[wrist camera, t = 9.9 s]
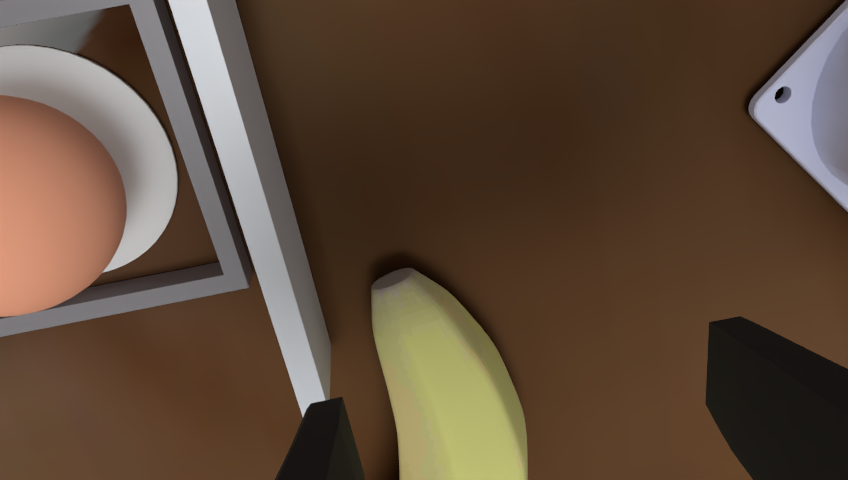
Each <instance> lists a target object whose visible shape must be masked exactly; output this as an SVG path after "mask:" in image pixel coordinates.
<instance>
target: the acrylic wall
mask: <svg viewBox="0 0 848 480" xmlns="http://www.w3.org/2000/svg"><path fill="white" fill-rule="evenodd" d="M168 1H169V4H170V7H171V10H172V13H173V16H174V19H175V22H176V26H177V29H178V32H179V35H180V38H181V41H182V44H183V47H184V50H185V53H186V57H187V60H188V63H189V66H190V69H191V72H192V75H193V78H194V81H195V84H196V88H197V91H198V94H199V97H200V100H201V103H202V106H203V109H204V112H205V115H206V119H207V122H208V125H209V128H210V131H211V134H212V137H213V140H214V143H215V146H216V150H217V153H218V156H219V159H220V162H221V165H222V168H223V171H224V174H225V177H226V180H227V184H228V187H229V190H230V193H231V196H232V199H233V202H234V205H235V208H236V211H237V215H238V218H239V221H240V224H241V227H242V230H243V233H244V236H245V239H246V242H247V246H248V249H249V252H250V255H251V258H252V261H253V264H254V267H255V270H256V273H257V277H258V280H259V283H260V286H261V289H262V292H263V295H264V298H265V301H266V304H267V308H268V311H269V314H270V317H271V320H272V323H273V326H274V329H275V332H276V335H277V338H278V342H279V345H280V348H281V351H282V354H283V357H284V360H285V363H286V366H287V369H288V373H289V376H290V379H291V382H292V385H293V388H294V391H295V394H296V397H297V400H298V404H299V407H300V410H301V413H302V416H303V417H304V414H305V412H306V409H307V408H308V406H309V405H310V404H311V403H315V402H320V401H325V400H329V398H330V366H331V342H330V339H329V335H328V332H327V328H326V324H325V321H324V317H323V314H322V310H321V306H320V303H319V299H318V296H317V292H316V289H315V285H314V281H313V278H312V274H311V271H310V267H309V263H308V260H307V256H306V253H305V249H304V245H303V242H302V238H301V235H300V231H299V228H298V224H297V220H296V217H295V213H294V210H293V206H292V202H291V199H290V195H289V192H288V188H287V184H286V181H285V177H284V174H283V170H282V167H281V163H280V159H279V156H278V152H277V149H276V145H275V141H274V138H273V134H272V131H271V127H270V123H269V120H268V116H267V113H266V109H265V106H264V102H263V98H262V95H261V91H260V88H259V84H258V80H257V77H256V73H255V70H254V66H253V62H252V59H251V55H250V52H249V48H248V45H247V41H246V37H245V34H244V30H243V27H242V23H241V19H240V16H239V12H238V9H237V5H236V1H235V0H168Z"/></svg>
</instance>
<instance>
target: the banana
mask: <svg viewBox="0 0 848 480" xmlns="http://www.w3.org/2000/svg"><path fill="white" fill-rule="evenodd" d="M371 306H372V327H373V334H374V339H375V343H376V348H377V352H378V355H379V359H380V363H381V366H382V370H383V374H384V378H385V381H386V385H387V389H388V392H389V397H390V401H391V405H392V409H393V414H394V418H395V423H396V429H397V436H398V450H399V475H400V480H527V467H528V465H527V435H526V426H525V419H524V414H523V410H522V407H521V404H520V401H519V398H518V396H517V393H516V391H515V388H514V386H513V383H512V381H511V379H510V376H509V374H508V371H507V369H506V367H505V364H504V362H503V360H502V358H501V356H500V354H499V352H498V350H497V349H496V347H495V345H494V344H493V342H492V341H491V339H490V338H489V336H488V335H487V334H486V333H485V331H484V330H483V329H482V327H481V326H480V325H479V324H478V323H477V322H476V321H475V319H474V318H473V317H472V316H471V315H470V314H469V312H468V311H467V310H466V309H465V308H464V307H463V306H462V305H461V304H460V303H459V301H458V300H457V299H456V298H455V297H453V296H452V295H451V294H450V293H449V292H448V291H447V290H445V289H444V288H443V287H441V286H440V285H438V284H437V283H435V282H434V281H432V280H430V279H429V278H427V277H426V276H424V275H422V274H421V273H419V272H417V271H416V270H414V269H412V268H403V269H399V270H396V271H393V272H391V273H389V274H387V275H385V276H383V277H381V278H379V279H378V280H377V281H375V282H374V283H373V284H372V286H371Z"/></svg>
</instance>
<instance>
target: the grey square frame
mask: <svg viewBox="0 0 848 480" xmlns="http://www.w3.org/2000/svg"><path fill="white" fill-rule="evenodd" d="M126 4H130V7H131V10H132V13H133V16H134V19H135V22H136V24H137V27H138V30H139V33H140V36H141V39H142V42H143V44H144V47H145V50H146V53H147V56H148V59H149V62H150V64H151V67H152V70H153V73H154V76H155V79H156V82H157V84H158V87H159V90H160V93H161V96H162V99H163V102H164V105H165V107H166V110H167V113H168V116H169V119H170V122H171V125H172V127H173V130H174V133H175V136H176V139H177V142H178V145H179V147H180V150H181V153H182V156H183V159H184V162H185V165H186V167H187V170H188V173H189V176H190V179H191V182H192V185H193V188H194V190H195V193H196V196H197V199H198V202H199V205H200V208H201V210H202V213H203V216H204V219H205V222H206V225H207V228H208V230H209V233H210V236H211V239H212V242H213V245H214V248H215V251H216V253H217V256H218V259H219V262H217V263H211V264H206V265H201V266H196V267H191V268H186V269H181V270H176V271H171V272H166V273H160V274H155V275H150V276H145V277H140V278H135V279H130V280H125V281H120V282H115V283H109V284H104V285H99V286H94V287H89V288H85V289H84V290H82V291H81V292H79V293H78V294H77V295H75V296H74V297H72V298H70V299H68V300H66V301H64V302H62V303H60V304H58V305H56V306H53V307H51V308H48V309H45V310H42V311H38V312H33V313H29V314H24V315H18V316H8V317H0V337H2V336H7V335H12V334H17V333H22V332H27V331H32V330H37V329H43V328H48V327H53V326H58V325H63V324H68V323H73V322H78V321H83V320H88V319H93V318H98V317H103V316H108V315H113V314H118V313H124V312H129V311H134V310H139V309H144V308H149V307H154V306H159V305H164V304H169V303H174V302H179V301H184V300H189V299H194V298H200V297H205V296H210V295H215V294H220V293H225V292H230V291H235V290H240V289H245V288H249V285H250V281H251V278H252V274H253V271H252V268H251V265H250V262H249V259H248V256H247V253H246V250H245V247H244V244H243V241H242V237H241V234H240V231H239V228H238V225H237V222H236V219H235V216H234V213H233V210H232V207H231V204H230V201H229V197H228V194H227V191H226V188H225V185H224V182H223V179H222V176H221V173H220V170H219V167H218V164H217V161H216V158H215V154H214V151H213V148H212V145H211V142H210V139H209V136H208V133H207V130H206V127H205V124H204V121H203V118H202V115H201V111H200V108H199V105H198V102H197V99H196V96H195V93H194V90H193V87H192V84H191V81H190V78H189V75H188V71H187V68H186V65H185V62H184V59H183V56H182V53H181V50H180V47H179V44H178V41H177V38H176V35H175V32H174V28H173V25H172V22H171V19H170V16H169V13H168V10H167V7H166V4H165V1H164V0H0V27H7V26H12V25H17V24H23V23H28V22H33V21H39V20H44V19H49V18H55V17H61V16H66V15H71V14H77V13H82V12H88V11H93V10H99V9H104V8H109V7H115V6H120V5H126ZM0 95H8V96H13V97H19V98H25V99H29V100H33V101H36V102H40V103H43V104H45V105H48V106H50V107H53V108H55V109H57V110H59V111H61V112H63V113H65V114H67V115H69V116H70V117H72V118H73V119H75V120H76V121H78V122H79V123H80V124H82V125H83V126H84V127H85V128H87V129H88V130H89V131H90V132H91V133H92V134H93V135H94V136H95V137H96V138H97V139H98V140H99V141H100V142H101V143H102V144H103V146H104V147H105V148H106V150H107V151H108V152H109V154H110V155H111V157H112V159H113V160H114V162H115V164H116V166H117V168H118V170H119V173H120V175H121V177H122V181H123V185H124V188H125V194H126V203H127V217H126V223H125V228H124V233H123V237H122V240H121V242H120V245H119V247H118V249H117V251H116V253H115V255H114V257H113V258H112V260H111V262H110V263H109V265H108V266H107V267H106V268H105V270H104V271H103V272H107V271H110V270H113V269H116V268H118V267H121V266H123V265H125V264H127V263H129V262H131V261H133V260H134V259H136V258H138V257H139V256H140V255H142V254H143V253H144V252H146V251H147V250H148V249H149V248H150V247H151V246H152V245H153V244H154V243H155V242H156V241H157V239H158V238H159V237H160V235H161V234H162V232H163V231H164V230H165V228H166V226H167V224H168V222H169V220H170V218H171V216H172V214H173V210H174V207H175V204H176V200H177V193H178V169H177V162H176V157H175V154H174V150H173V147H172V144H171V142H170V139H169V137H168V135H167V132H166V130H165V128H164V127H163V125H162V123H161V122H160V120H159V118H158V116H157V115H156V114H155V112H154V111H153V110H152V108H151V107H150V106H149V104H148V103H147V102H146V101H145V100H144V99H143V98H142V97H141V96H140V95H139V94H138V93H137V91H136V90H135V89H133V88H132V87H131V86H130V85H129V84H127V83H126V82H125V81H124V80H123V79H121V78H120V77H119V76H117V75H116V74H114V73H113V72H111V71H110V70H108V69H107V68H105V67H103V66H101V65H99V64H97V63H95V62H94V61H92V60H90V59H87V58H85V57H82V56H80V55H77V54H75V53H72V52H69V51H65V50H60V49H57V48H53V47H47V46H39V45H8V46H0ZM103 272H102V273H103Z"/></svg>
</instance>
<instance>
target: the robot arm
mask: <svg viewBox="0 0 848 480" xmlns="http://www.w3.org/2000/svg"><path fill="white" fill-rule="evenodd" d="M781 87H783V88H784V90H783V94H782V95H781V97H780V98H778V99H777V100H775V93H776V92H777V90H778V89H780V88H781ZM749 114H750V116H751V117H752V118H753V119H754V120H755V121H756V122H757V123H758V124H759V125H760V126H761V127H762V128H763V129H764V130H765V131H766V132H767V133H768V134H769V135H770V136H771V137H772V138H773V139H774V140H775V141H776V142H777V143H778V144H779V145H780V146H781V147H782V148H783V149H784V150H785V151H786V152H787V153H788V154H789V155H790V156H791V157H792V158H793V159H794V160H795V161H796V162H797V163H798V164H799V165H800V166H801V167H802V168H803V169H804V170H805V171H806V172H807V173H808V174H809V175H810V176H811V177H812V178H814V179H815V180H816V181H817V182H818V183H819V184H820V185H821V186H822V187H823V188H824V189H825V190H826V191H827V192H828V193H829V194H830V195H831V196H832V197H833V198H834V199H835V200H836V201H837V202H838V203H839V204H840V205H841V206H842V207H843V208H844V209H845V210H846V211H847V212H848V0H846V1H845V2H844V3H843V4H842V5H841V6H840V7H839V8H838V9H837V10H836V11H835V12H834V13H833V14H832V15H831V16H830V17H829V18H828V19H827V20H826V21H825V22H824V23H823V24H822V26H821V27H820V28H819V29H818V30H817V31H816V32H815V33H814V34H813V35H812V36H811V37H810V38H809V39H808V40H807V41H806V42H805V43H804V44H803V45H802V46H801V47H800V48H799V49H798V51H797V52H796V53H795V54H794V55H793V56H792V57H791V58H790V59H789V60H788V61H787V62H786V63H785V64H784V65H783V66H782V67H781V68H780V69H779V70H778V71H777V72H776V73H775V74H774V75H773V77H772V78H771V79H770V80H769V81H768V82H767V83H766V84H765V85H764V86H763V87H762V88H761V89H760V90H759V91H758V92H757V93H756V94H755V95H754V97H753V98H752V99H751V101H750V104H749ZM706 406H707V407H708V409H709V411H710V413H711V415H712V417H713V418H714V420H715V422H716V424H717V426H718V428H719V429H720V431H721V433H722V435H723V436H724V438H725V440H726V441H727V443H728V445H729V447H730V448H731V450H732V451H733V453H734V454H735V456H736V457H737V458H738V460H739V461H740V462H741V464H742V465H743V466H744V468H745V469H746V471H747V472H748V473H749V475H750V476H751V477H752V479H753V480H848V369H847V368H845V367H842V366H840V365H838V364H836V363H834V362H832V361H830V360H828V359H826V358H824V357H822V356H820V355H818V354H816V353H814V352H812V351H810V350H808V349H806V348H804V347H802V346H800V345H798V344H796V343H794V342H792V341H790V340H788V339H786V338H784V337H782V336H780V335H778V334H776V333H774V332H772V331H770V330H768V329H766V328H764V327H762V326H760V325H758V324H756V323H754V322H752V321H749V320H747V319H745V318H743V317H740V316H739V317H734V318H729V319H724V320H719V321H714V322H709V340H708V363H707V386H706ZM275 480H365V478H364V472H363V469H362V465H361V462H360V458H359V455H358V451H357V447H356V444H355V440H354V437H353V433H352V430H351V426H350V423H349V419H348V415H347V412H346V408H345V405H344V401H343V398H342V397H339V398H335V399H330V400H325V401H320V402H315V403H311V404H310V405H309V406H308V408H307V409H306V412H305V414H304V417H303V419H302V422H301V424H300V427H299V429H298V431H297V434H296V436H295V438H294V441H293V443H292V445H291V447H290V449H289V452H288V454H287V456H286V458H285V460H284V462H283V464H282V466H281V468H280V470H279V472H278V474H277V476H276V478H275Z"/></svg>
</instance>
